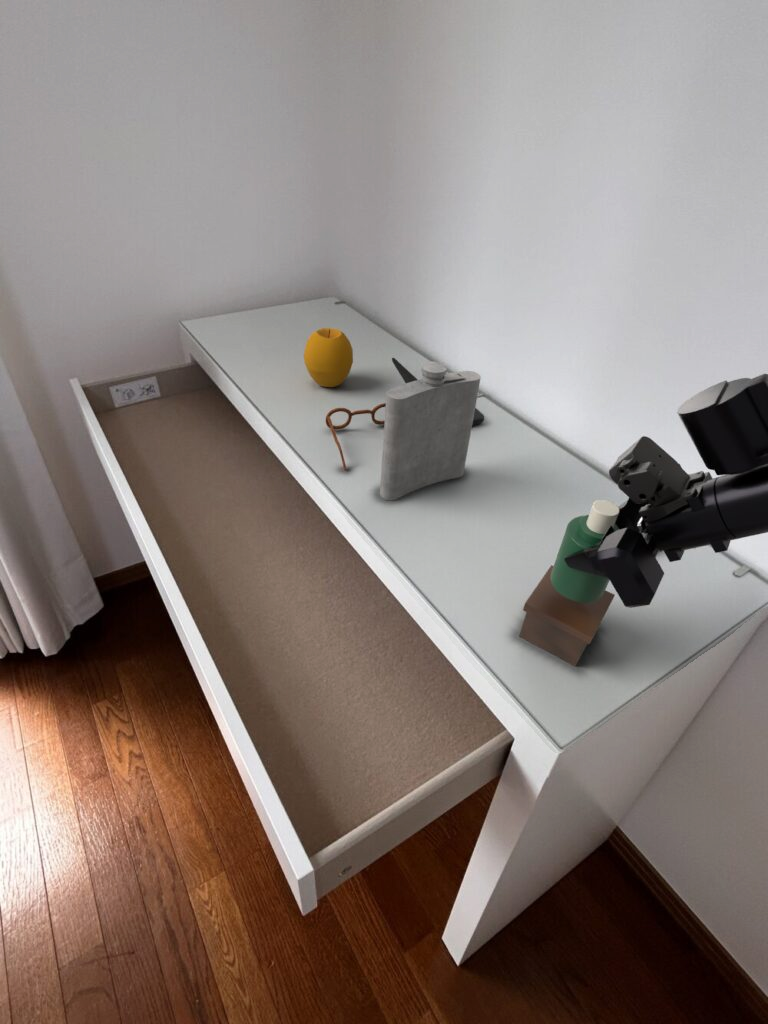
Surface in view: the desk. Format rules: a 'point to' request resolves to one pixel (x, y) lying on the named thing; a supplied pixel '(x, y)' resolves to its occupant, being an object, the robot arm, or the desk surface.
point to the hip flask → (427, 429)
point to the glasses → (329, 423)
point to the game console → (410, 378)
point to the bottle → (575, 539)
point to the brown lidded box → (561, 620)
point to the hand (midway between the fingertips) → (577, 546)
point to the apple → (328, 357)
